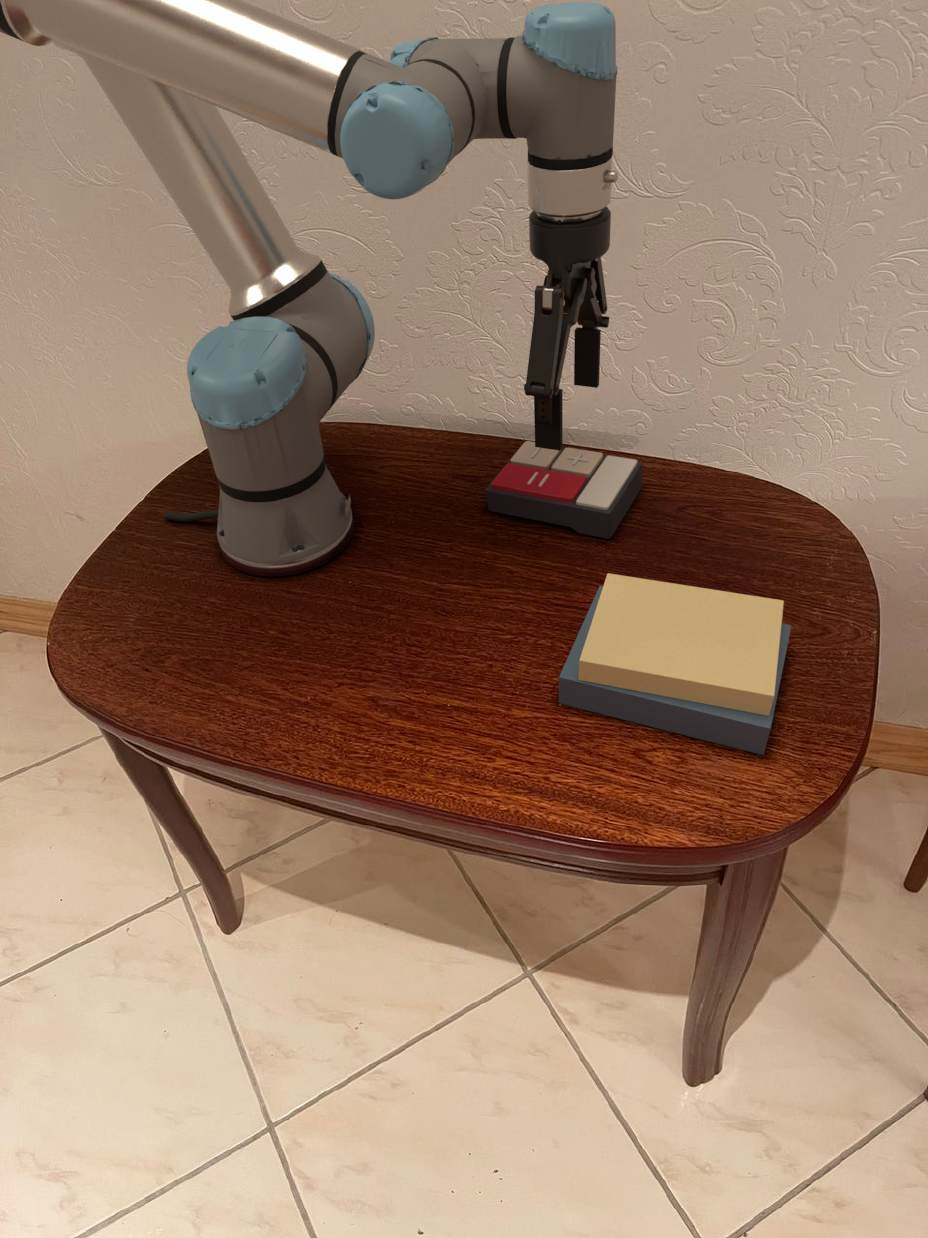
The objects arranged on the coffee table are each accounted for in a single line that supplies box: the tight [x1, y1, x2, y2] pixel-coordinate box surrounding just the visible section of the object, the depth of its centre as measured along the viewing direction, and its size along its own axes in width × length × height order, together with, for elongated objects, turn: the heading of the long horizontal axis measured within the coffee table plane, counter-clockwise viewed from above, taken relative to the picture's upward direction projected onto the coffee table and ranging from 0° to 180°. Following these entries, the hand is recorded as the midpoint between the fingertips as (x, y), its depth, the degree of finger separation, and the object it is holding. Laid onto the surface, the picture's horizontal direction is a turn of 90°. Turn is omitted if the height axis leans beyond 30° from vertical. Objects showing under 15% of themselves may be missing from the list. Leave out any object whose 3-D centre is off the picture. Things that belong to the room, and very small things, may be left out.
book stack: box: [558, 572, 792, 756], centre depth 80 cm, size 18×13×6 cm
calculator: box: [485, 440, 643, 540], centre depth 102 cm, size 11×4×15 cm
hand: (568, 414), depth 96 cm, fingers open, 13 cm apart
